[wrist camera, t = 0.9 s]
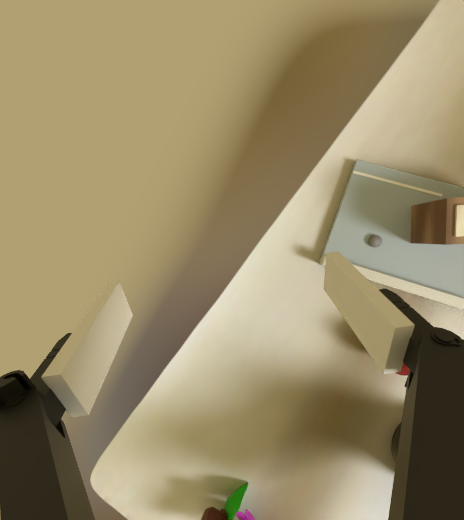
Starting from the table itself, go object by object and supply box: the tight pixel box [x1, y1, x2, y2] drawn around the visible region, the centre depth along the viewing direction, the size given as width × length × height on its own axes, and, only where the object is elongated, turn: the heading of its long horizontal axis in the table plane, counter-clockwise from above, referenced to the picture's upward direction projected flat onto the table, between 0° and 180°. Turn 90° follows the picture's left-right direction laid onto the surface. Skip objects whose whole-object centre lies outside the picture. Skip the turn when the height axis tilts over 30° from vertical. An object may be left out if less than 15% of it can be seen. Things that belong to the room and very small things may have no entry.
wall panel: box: [319, 160, 464, 310], centre depth 39 cm, size 24×18×3 cm
